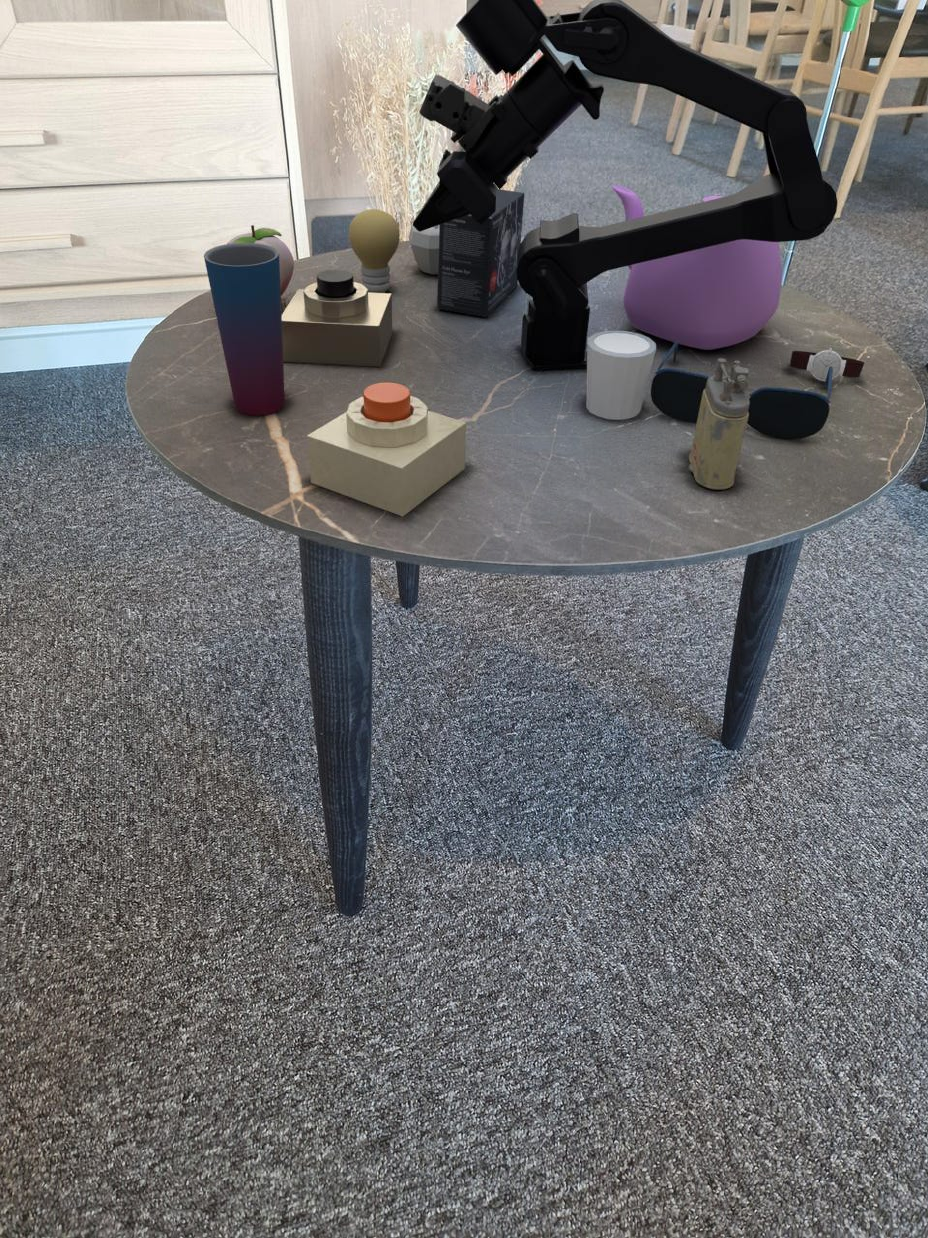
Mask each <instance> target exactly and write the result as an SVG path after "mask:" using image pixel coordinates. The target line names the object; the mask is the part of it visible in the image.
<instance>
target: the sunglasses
mask: <svg viewBox="0 0 928 1238" xmlns="http://www.w3.org/2000/svg"><path fill="white" fill-rule="evenodd" d="M678 349H679V343H678V342H673V344H672V346H671V347H670V349H669V350H668V352H667V354H666V355H665V357H664V358H663V359H662V361H661V363H660V364H659V366H658V368H657V371H655V372H654V374H655V375H654V376H653V378H652V381H651V386H650V398H651V399H650V400H651V402H652V404H653V405H654V406H655V408H657V410H659V412H661V413H662V414H663V415H665V416H667V417H669V418H671V419H673V420H678V421H681V422H686V423H692V424H693V423H694V424H695V423H696V424H697V419H698V414H699V409H700V404H701V399H702V394H703V390H704V389H705V388H706V384H707V380H708V378H709V377H710V376H708V375H705V374H701V373H697V372H693V371H687V370H683V369H677V368H669V367H667V368H666V367H665V368H663V366H664V365H665V364H666V362H667V361H668V359H669V358H670V357H671V355H672V353H673V359H672V364H675V363H676V360H677V354H678ZM832 375H833V367H832V366H830V367H829V370H828V373H827V377H826V381H824V385H823V388H824V389H826V388H827V396H826V395H824V394H821V393H819V392H816V391H815V392H814V391H810V390H803V389H795V388H794V389H793V388H786V387H783V388H782V387H773V386H771V387H770V386H764V387H759V388H757V389H755V390H754V391H752V392H751V393H750V394H749V397H748V399H749V401H750V404H749V409H748V413H749V417H748V421H747V425H748V426H749V427H750V428H752V430H755V431H757V432H758V433H760V434H762V435H764V436H767V437H770V438H774V439H778V440H779V439H780V440H803V439H806V438H809V437H811V436H814V435H815V434H818V433H819V432H820V431H822V429H823V428H824V426H825V425H826V423H827V420H828V418H829V414H830V403H831V401H830V398H831V394H832V388H833V387H832V386H833V379H832Z"/></svg>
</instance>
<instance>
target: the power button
mask: <svg viewBox="0 0 928 1238" xmlns="http://www.w3.org/2000/svg"><path fill="white" fill-rule="evenodd" d="M362 396H363V398H364V415H365V417H366V418H367V419H371V420H374V421H377V422H396V421H401V420H405V419H407V418H408V417H410V396H411V391H410V389H409V388H408V387H407V386H405V385H403V384H400V383H395V382H377V383H373V384H371V385H369V386H367V387H366V388H365V389H364V390H363V392H362Z"/></svg>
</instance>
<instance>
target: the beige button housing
mask: <svg viewBox="0 0 928 1238" xmlns="http://www.w3.org/2000/svg"><path fill="white" fill-rule="evenodd" d="M466 437H467V421H463V420H460V419H458V418H453V417H449V416H446V415H443V414H441V413H438V412H434V411H430V410H429V407H428V405H426V404H425V403H424V402H423V401H422V400H421V399H419V398H418V397H415V396H412V395H410V417H408V418H407V419H405V420H401V421H396V422H377V421H374V420H371V419H367V418H366V417H365V415H364V398H363V395H362V396H360V397H358V398H357V399H355V400H353V401H351V402H349V404H348V405H347V409H346V411H345V412H344V413H342V414H341V415H339V416H338V417H336V418H334V419H332V420H330V421H328V422H327V423H326V424H324V425H322V426H321V427H319V428H317V429H315V430H314V431H312V432H310V433H309V434H307V435H306V441H307V450H308V451H307V452H308V463H309V464H308V465H309V471H310V472H309V474H310V475H309V476H310V483H311V484H313V485H316V486H319V487H320V488H324V489H327V490H329V491H332V492H334V493H337V494H340V495H343V496H345V497H348V498H351V499H354V500H356V501H359V502H362V503H365V504H367V505H369V506H372V507H375V508H378V509H381V510H384V511H386V512H388V513H391V514H394V515H397V516H400V517H402V518H403V517H405V516H406V515H407V514H408V513H409V512H411V511H412V510H414V508H416V507H417V506H419V505H420V504H421V503H423V502H424V501H425V500H427V499H428V498H429V497H430V496H432V495H433V494H434V493H435V492H437V491H438V490H439V489H441V488H442V487H443V486H445V484H447V483H448V482H450V481H451V480H452V479H453V478H455V477H456V476H457V475H459V474H460V473H461V472H462V471H464V470H465V468H466V441H467V440H466Z"/></svg>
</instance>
